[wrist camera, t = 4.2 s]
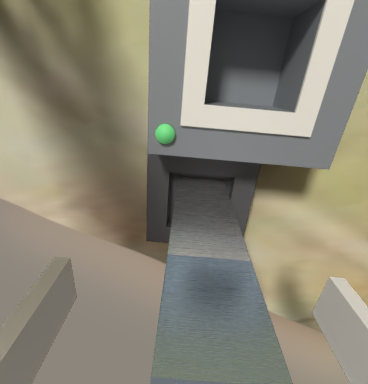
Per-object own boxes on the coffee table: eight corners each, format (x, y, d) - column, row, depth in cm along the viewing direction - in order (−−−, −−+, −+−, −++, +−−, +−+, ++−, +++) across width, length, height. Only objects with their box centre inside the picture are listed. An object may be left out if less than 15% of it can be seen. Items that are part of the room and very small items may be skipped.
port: (163, -57, 14) (150, -127, 9) (354, -38, 14) (435, -98, 10) (157, 137, 19) (146, 154, 15) (297, 149, 20) (331, 171, 15)
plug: (178, 176, 20) (151, 377, 6) (223, 180, 20) (293, 388, 6) (175, 215, 22) (148, 439, 8) (217, 218, 22) (261, 447, 8)
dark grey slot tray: (151, 142, 20) (147, 148, 18) (255, 151, 20) (261, 158, 18) (149, 228, 24) (146, 241, 22) (236, 236, 24) (240, 248, 22)
